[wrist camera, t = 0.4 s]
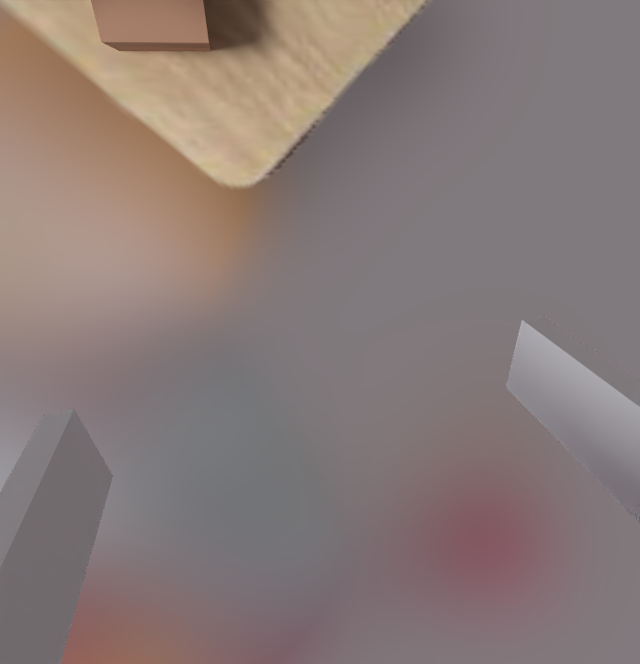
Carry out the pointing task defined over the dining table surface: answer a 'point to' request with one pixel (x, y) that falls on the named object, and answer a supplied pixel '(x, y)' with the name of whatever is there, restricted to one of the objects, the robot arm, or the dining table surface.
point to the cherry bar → (152, 24)
